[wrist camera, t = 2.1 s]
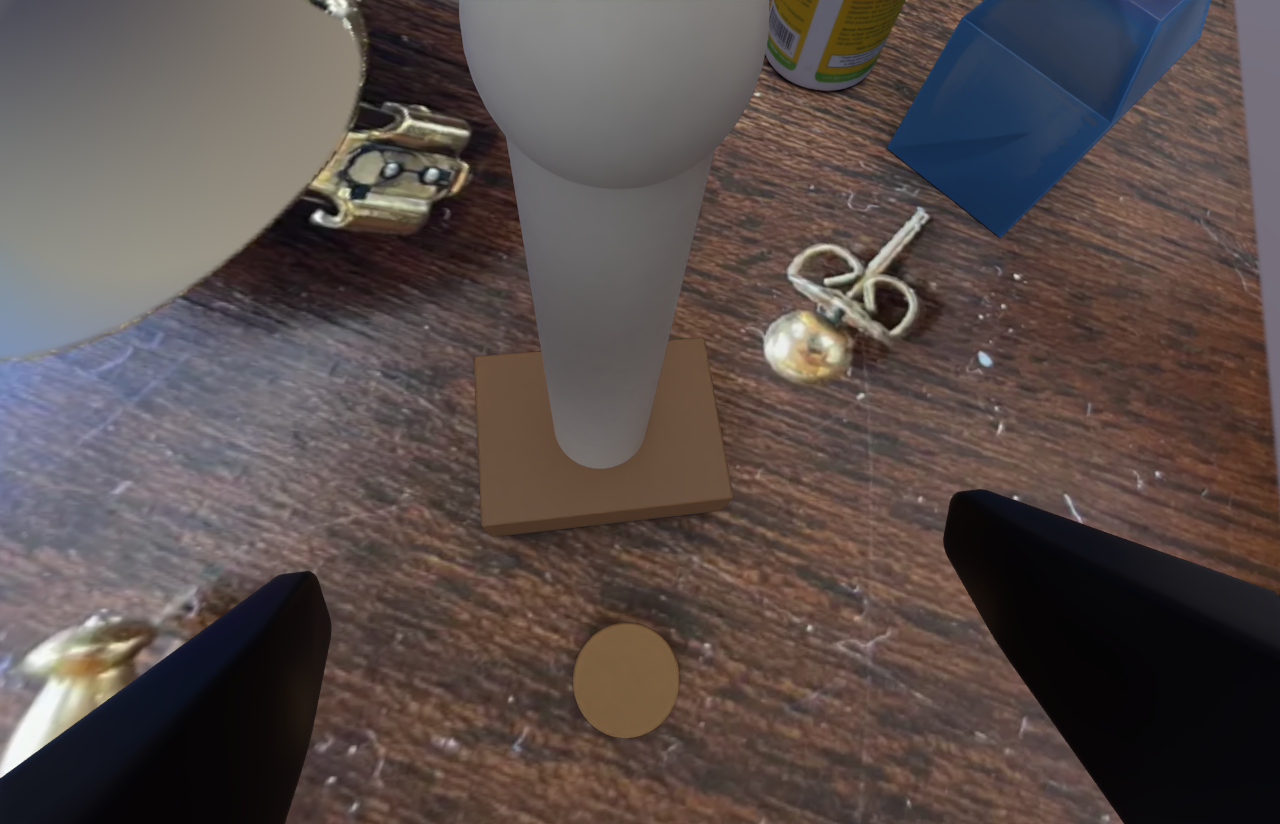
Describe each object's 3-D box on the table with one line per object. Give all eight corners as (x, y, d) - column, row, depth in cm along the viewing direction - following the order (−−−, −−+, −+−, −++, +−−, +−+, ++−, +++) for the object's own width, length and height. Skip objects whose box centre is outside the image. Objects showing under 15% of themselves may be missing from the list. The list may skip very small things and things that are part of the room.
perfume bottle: (967, 80, 30) (1189, -260, 19) (1077, 162, 29) (1386, -152, 18) (886, 148, 28) (1079, -185, 17) (1000, 238, 27) (1289, -59, 16)
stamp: (716, 518, 22) (1120, 70, 5) (495, 543, 21) (124, 108, 4) (691, 373, 24) (930, -303, 7) (487, 392, 23) (207, -323, 6)
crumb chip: (694, 705, 20) (698, 707, 19) (597, 755, 19) (598, 759, 18) (650, 606, 21) (652, 605, 20) (557, 650, 20) (556, 650, 19)
